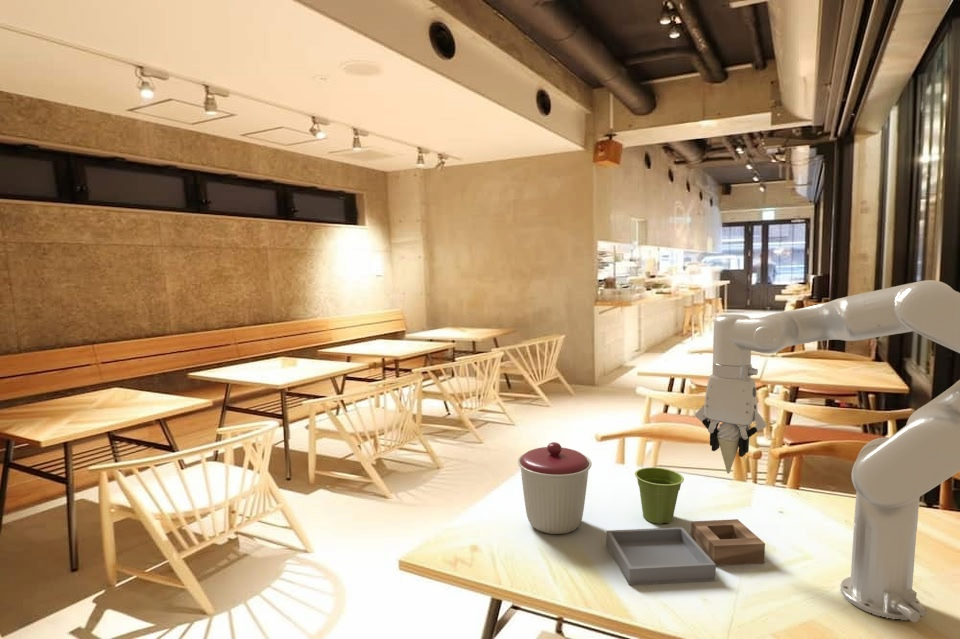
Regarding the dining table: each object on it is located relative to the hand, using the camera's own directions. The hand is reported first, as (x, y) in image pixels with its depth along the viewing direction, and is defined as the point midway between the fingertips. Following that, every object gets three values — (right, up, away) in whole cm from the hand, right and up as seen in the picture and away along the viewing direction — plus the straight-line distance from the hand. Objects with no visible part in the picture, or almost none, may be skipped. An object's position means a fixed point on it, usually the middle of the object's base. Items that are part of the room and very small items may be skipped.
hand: (728, 451), depth 122 cm
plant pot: (-10, -22, +19) cm, 30 cm away
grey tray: (-16, -24, -1) cm, 29 cm away
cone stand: (+1, -23, +3) cm, 23 cm away
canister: (-36, -22, +16) cm, 46 cm away
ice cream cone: (0, -5, +1) cm, 5 cm away
